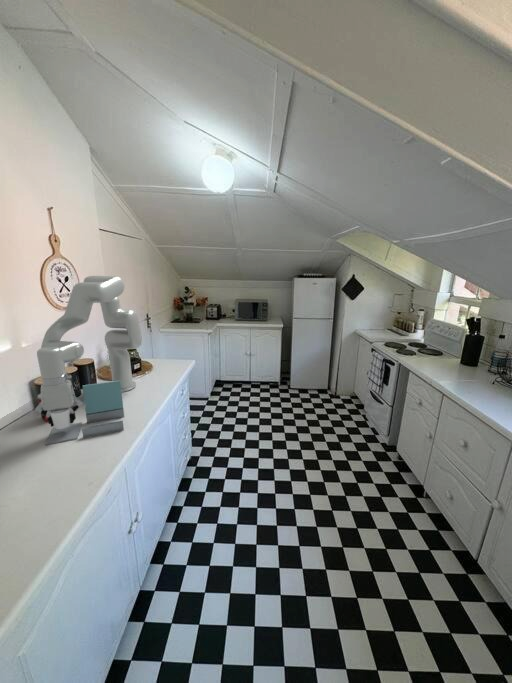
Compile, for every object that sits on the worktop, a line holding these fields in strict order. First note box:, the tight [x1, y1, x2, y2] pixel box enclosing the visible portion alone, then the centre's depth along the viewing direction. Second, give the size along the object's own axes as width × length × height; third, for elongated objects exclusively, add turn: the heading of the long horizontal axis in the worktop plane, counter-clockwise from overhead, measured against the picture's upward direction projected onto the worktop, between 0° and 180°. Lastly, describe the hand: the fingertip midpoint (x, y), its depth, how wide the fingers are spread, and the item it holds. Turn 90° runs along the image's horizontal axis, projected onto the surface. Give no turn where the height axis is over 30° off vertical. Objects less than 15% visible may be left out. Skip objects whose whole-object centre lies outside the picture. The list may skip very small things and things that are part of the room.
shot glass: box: [50, 408, 73, 429], centre depth 109 cm, size 7×7×7 cm
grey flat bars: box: [81, 407, 125, 439], centre depth 116 cm, size 12×14×4 cm
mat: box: [45, 421, 83, 446], centre depth 111 cm, size 12×10×1 cm
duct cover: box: [82, 381, 124, 415], centre depth 120 cm, size 12×14×1 cm
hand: (62, 422), depth 110 cm, fingers closed on shot glass, 5 cm apart
